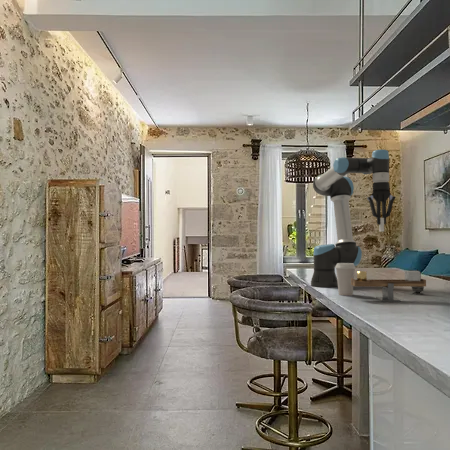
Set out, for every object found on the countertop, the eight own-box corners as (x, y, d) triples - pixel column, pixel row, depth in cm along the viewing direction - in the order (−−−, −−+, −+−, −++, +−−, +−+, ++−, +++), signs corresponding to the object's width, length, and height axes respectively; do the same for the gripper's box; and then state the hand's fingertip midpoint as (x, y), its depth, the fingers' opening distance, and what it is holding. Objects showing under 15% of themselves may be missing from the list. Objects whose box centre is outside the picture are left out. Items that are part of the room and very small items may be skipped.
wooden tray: (351, 284, 185) (351, 278, 185) (419, 284, 183) (419, 278, 183) (354, 286, 178) (354, 279, 178) (426, 286, 176) (426, 279, 176)
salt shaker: (414, 292, 203) (413, 268, 203) (426, 294, 198) (426, 269, 198) (409, 294, 199) (408, 269, 199) (421, 295, 194) (420, 270, 195)
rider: (404, 282, 182) (404, 270, 182) (416, 282, 182) (416, 270, 182) (408, 283, 177) (408, 271, 178) (420, 283, 177) (420, 271, 177)
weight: (356, 282, 184) (356, 271, 184) (365, 282, 183) (365, 271, 183) (358, 283, 180) (358, 271, 180) (367, 283, 179) (367, 271, 179)
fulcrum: (375, 298, 185) (375, 281, 185) (393, 298, 184) (393, 281, 185) (381, 301, 176) (381, 283, 176) (400, 302, 175) (400, 283, 176)
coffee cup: (357, 296, 192) (356, 264, 192) (336, 295, 194) (335, 264, 194) (354, 293, 201) (354, 262, 202) (334, 293, 203) (334, 262, 204)
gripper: (369, 181, 193) (369, 231, 193) (397, 181, 192) (398, 231, 191) (365, 183, 201) (365, 231, 200) (392, 183, 199) (393, 231, 199)
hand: (381, 231), depth 196 cm, fingers closed
